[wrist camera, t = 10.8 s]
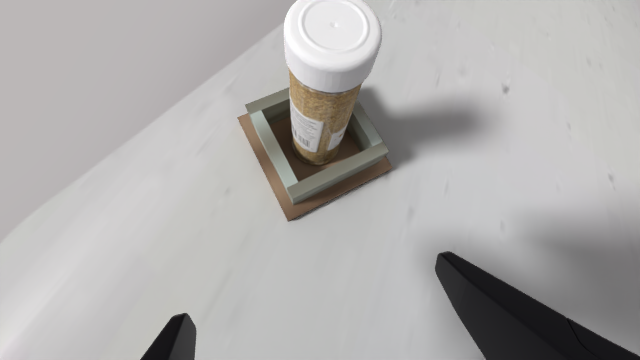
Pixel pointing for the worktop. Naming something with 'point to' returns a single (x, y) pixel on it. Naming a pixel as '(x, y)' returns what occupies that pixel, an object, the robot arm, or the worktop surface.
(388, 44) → the worktop surface
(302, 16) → the sprinkles bottle
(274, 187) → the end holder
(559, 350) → the robot arm
